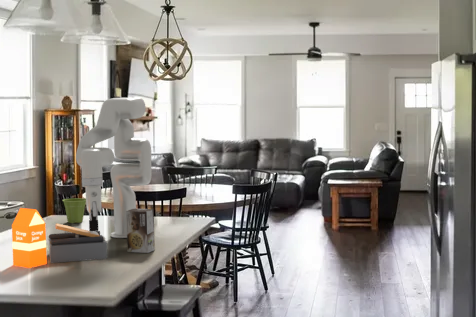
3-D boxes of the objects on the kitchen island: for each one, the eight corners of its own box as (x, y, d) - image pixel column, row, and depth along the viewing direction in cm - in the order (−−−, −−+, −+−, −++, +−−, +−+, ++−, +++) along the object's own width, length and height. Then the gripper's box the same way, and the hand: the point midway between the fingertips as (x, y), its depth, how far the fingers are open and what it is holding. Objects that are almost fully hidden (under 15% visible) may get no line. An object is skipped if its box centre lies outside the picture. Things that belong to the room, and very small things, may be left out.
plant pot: (84, 224, 320) (83, 201, 320) (60, 224, 321) (59, 201, 320) (90, 220, 332) (89, 198, 332) (66, 220, 332) (66, 198, 332)
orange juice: (29, 268, 228) (27, 210, 226) (12, 265, 232) (10, 209, 231) (47, 263, 234) (45, 208, 233) (30, 261, 239) (28, 206, 238)
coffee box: (155, 250, 256) (154, 208, 255) (147, 253, 250) (146, 211, 249) (134, 248, 259) (133, 208, 258) (126, 252, 253) (125, 210, 252)
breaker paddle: (97, 235, 251) (98, 232, 251) (98, 238, 245) (99, 234, 245) (55, 226, 246) (56, 222, 246) (55, 228, 240) (56, 225, 240)
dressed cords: (99, 235, 255) (99, 230, 255) (103, 242, 242) (103, 236, 242) (48, 239, 249) (48, 233, 249) (49, 245, 236) (49, 240, 236)
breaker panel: (102, 250, 257) (102, 228, 256) (107, 258, 242) (107, 235, 241) (49, 254, 251) (48, 231, 250) (50, 262, 235) (49, 239, 235)
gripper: (104, 183, 240) (106, 233, 242) (100, 179, 254) (101, 226, 256) (83, 184, 238) (85, 235, 239) (80, 180, 252) (82, 228, 253)
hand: (93, 230), depth 248 cm, fingers closed
